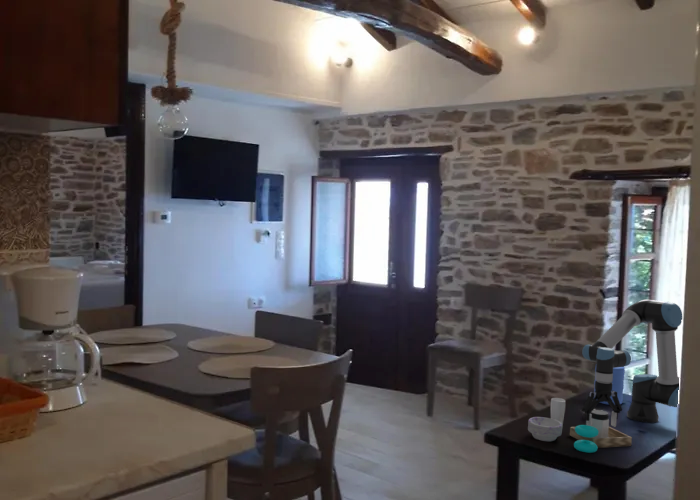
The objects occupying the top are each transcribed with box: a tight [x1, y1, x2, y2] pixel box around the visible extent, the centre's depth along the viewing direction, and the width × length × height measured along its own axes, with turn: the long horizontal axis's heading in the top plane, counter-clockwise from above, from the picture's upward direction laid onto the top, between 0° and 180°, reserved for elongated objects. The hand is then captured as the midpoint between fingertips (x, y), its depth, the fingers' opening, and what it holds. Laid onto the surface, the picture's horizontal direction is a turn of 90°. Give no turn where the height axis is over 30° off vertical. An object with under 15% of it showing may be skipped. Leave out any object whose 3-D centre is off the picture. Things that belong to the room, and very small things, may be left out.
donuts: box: [573, 424, 599, 454], centre depth 299 cm, size 10×10×10 cm
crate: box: [569, 426, 633, 449], centre depth 313 cm, size 20×18×4 cm
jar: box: [590, 409, 610, 439], centre depth 314 cm, size 9×8×12 cm
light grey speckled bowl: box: [527, 416, 563, 442], centre depth 312 cm, size 15×15×8 cm
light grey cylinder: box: [550, 397, 566, 427], centre depth 326 cm, size 7×7×15 cm
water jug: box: [593, 366, 626, 406], centre depth 384 cm, size 16×16×28 cm
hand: (600, 426), depth 313 cm, fingers open, 13 cm apart
